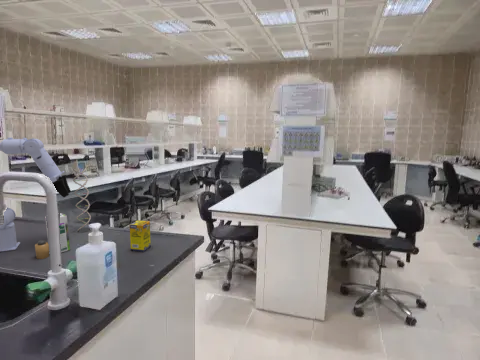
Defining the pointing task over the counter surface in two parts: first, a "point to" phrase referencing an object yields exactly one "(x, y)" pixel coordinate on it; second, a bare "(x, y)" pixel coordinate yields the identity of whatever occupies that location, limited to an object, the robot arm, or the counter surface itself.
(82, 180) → the dna model
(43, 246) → the amber bottle
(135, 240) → the supplement box
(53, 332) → the counter surface
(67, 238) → the syrup box
